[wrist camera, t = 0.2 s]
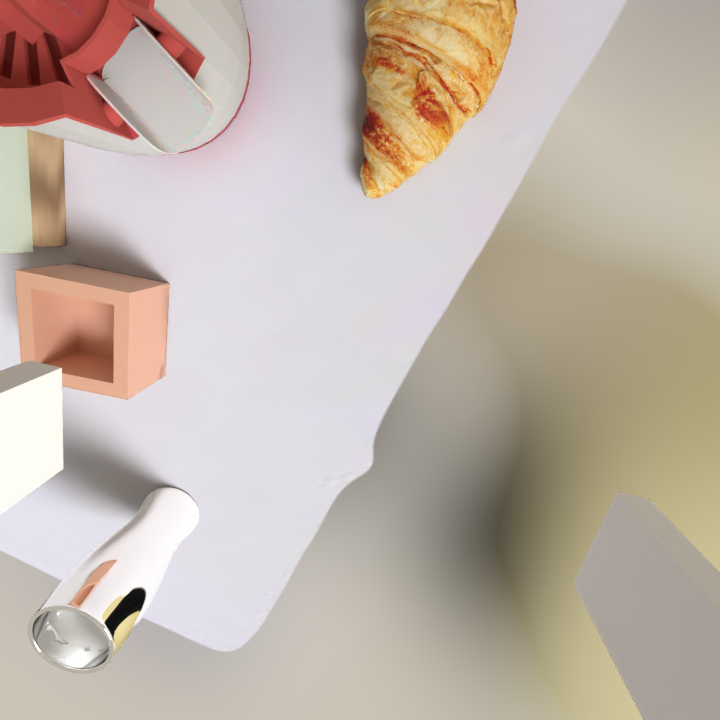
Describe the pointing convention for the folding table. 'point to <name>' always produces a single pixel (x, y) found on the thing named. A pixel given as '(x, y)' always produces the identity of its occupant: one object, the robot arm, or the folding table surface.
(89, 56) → the citrus juicer
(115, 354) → the open box
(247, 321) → the folding table surface
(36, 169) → the wooden block
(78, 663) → the beer glass
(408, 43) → the croissant
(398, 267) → the folding table surface
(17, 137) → the lid
